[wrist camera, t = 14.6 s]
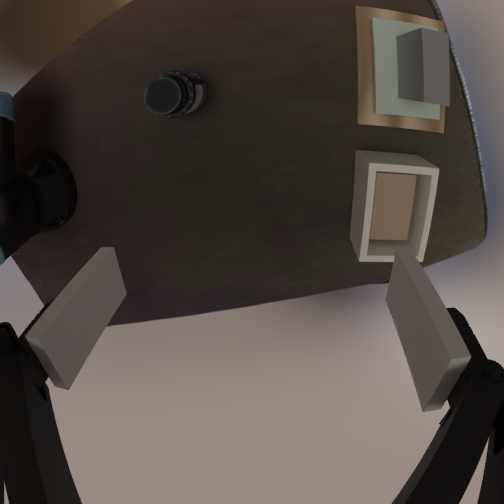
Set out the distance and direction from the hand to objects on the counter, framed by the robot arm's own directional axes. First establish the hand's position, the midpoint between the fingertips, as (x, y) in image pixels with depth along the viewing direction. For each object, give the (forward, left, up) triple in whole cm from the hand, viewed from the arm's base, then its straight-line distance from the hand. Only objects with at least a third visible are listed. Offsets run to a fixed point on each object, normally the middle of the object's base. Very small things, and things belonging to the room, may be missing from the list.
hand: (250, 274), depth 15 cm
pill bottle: (-12, +8, -35) cm, 38 cm away
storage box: (+17, -8, -35) cm, 39 cm away
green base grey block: (+19, +12, -33) cm, 40 cm away
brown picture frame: (+19, +12, -35) cm, 41 cm away
